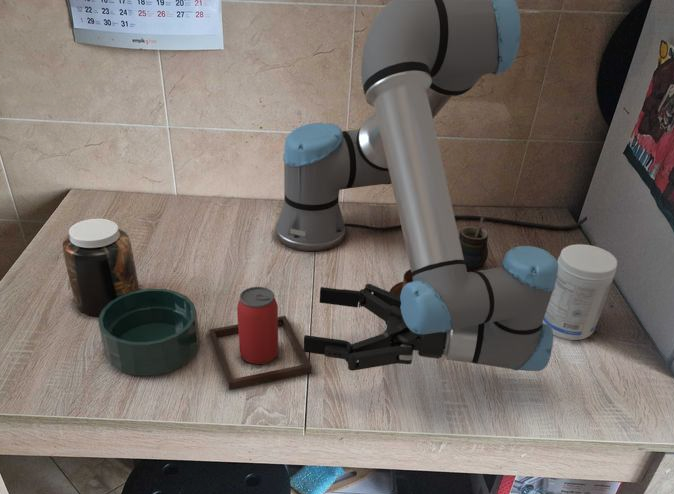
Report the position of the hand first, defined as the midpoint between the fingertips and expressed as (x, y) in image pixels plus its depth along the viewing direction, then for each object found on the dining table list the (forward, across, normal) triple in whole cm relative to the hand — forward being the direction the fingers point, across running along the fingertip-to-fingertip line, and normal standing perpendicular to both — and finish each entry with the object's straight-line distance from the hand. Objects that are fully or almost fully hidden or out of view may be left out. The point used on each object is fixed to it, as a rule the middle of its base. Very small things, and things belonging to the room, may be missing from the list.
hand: (312, 317), depth 104 cm
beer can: (+9, 0, -9) cm, 13 cm away
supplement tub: (-44, +20, -9) cm, 49 cm away
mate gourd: (-26, +38, -9) cm, 47 cm away
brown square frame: (+9, 0, -9) cm, 13 cm away
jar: (+41, +10, -9) cm, 43 cm away
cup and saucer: (-17, +21, -9) cm, 29 cm away
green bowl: (+27, -2, -9) cm, 29 cm away
